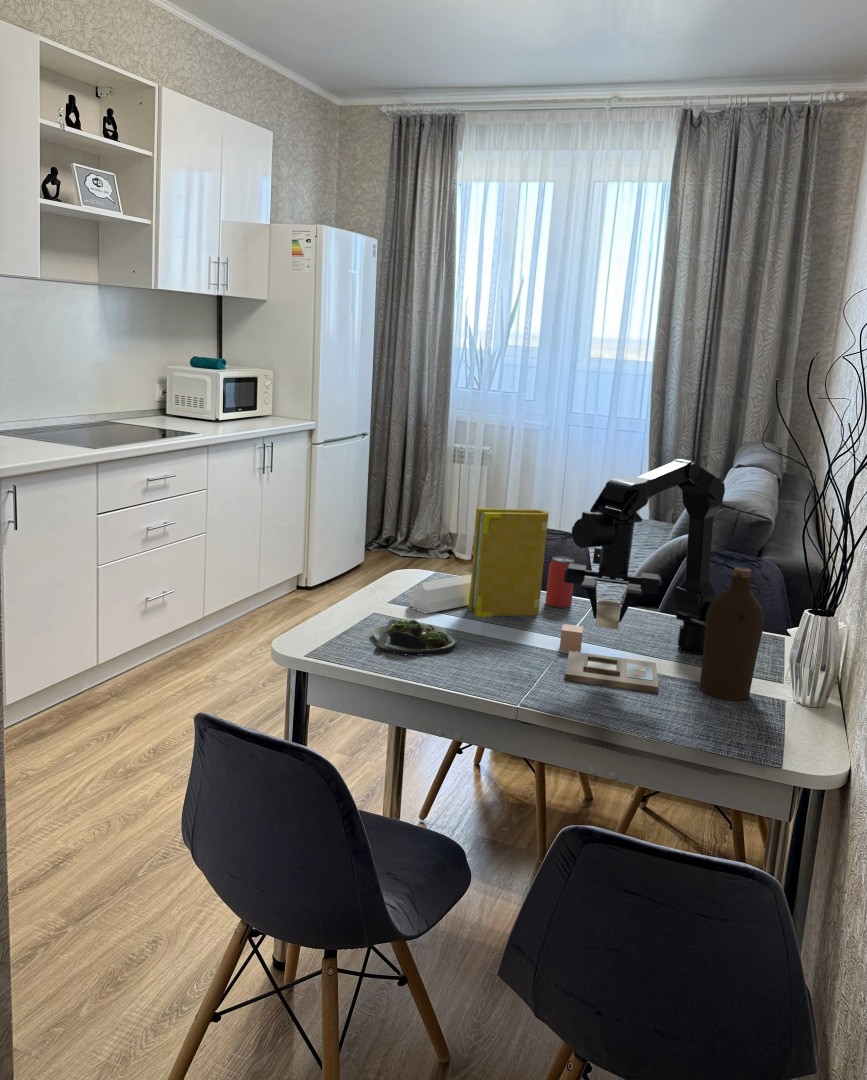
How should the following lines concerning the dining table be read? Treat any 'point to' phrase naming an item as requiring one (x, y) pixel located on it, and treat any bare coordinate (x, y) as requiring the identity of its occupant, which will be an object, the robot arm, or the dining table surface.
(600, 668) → the board
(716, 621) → the olive oil
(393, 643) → the salad plate
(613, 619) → the birch block
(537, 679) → the dining table surface
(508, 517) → the book
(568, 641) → the terracotta block
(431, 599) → the crystal
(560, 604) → the beer can
